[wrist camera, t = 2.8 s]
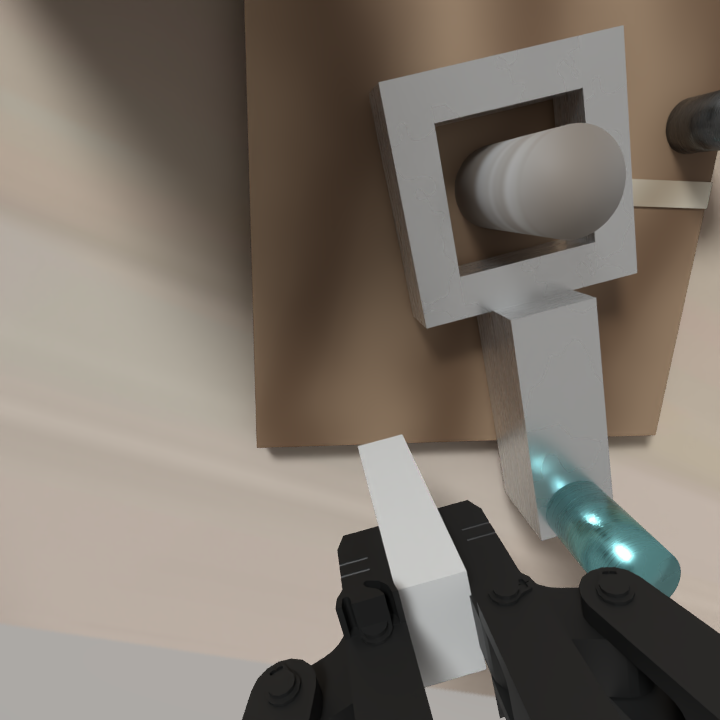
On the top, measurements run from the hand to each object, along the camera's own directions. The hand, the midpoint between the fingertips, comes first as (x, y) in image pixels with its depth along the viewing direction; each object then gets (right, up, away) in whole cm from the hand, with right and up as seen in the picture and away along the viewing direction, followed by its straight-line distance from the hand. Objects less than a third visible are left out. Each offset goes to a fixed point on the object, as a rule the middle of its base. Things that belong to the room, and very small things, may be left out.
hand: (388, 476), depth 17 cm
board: (+4, +11, +3) cm, 12 cm away
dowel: (+11, +13, +4) cm, 18 cm away
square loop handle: (+5, +6, +4) cm, 9 cm away
